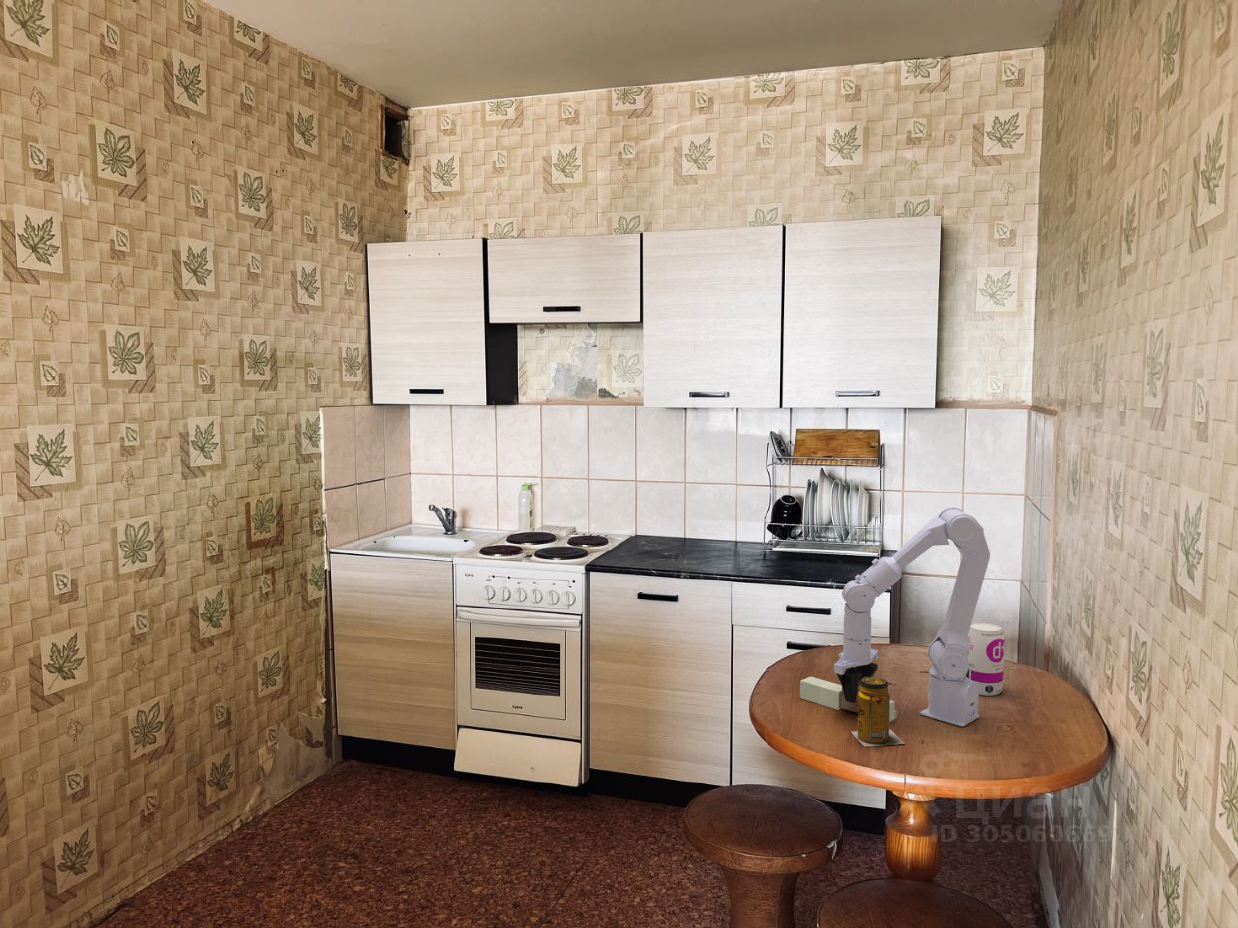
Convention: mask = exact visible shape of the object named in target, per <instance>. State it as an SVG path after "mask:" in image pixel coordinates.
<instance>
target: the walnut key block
mask: <svg viewBox="0 0 1238 928" xmlns="http://www.w3.org/2000/svg"><path fill="white" fill-rule="evenodd" d="M860 682H861V679H860V681H859V684H858V688H857V696H856V701H855V702H854V703H852V702H849V701H845V697H844V693H843V689H842V709H844V710H847V711H851V712H853V713H857V714H858V693H859V692H860V687H861V684H860Z"/></svg>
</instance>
